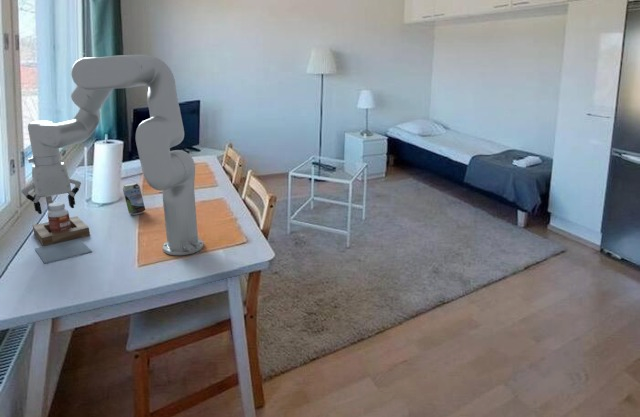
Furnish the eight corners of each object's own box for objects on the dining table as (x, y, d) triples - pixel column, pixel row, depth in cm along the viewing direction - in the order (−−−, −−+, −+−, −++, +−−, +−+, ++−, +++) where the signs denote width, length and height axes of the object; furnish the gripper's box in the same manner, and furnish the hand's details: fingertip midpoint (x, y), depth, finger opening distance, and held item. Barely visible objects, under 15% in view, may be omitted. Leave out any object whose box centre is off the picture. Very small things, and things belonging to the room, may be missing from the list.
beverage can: (139, 217, 171) (136, 186, 167) (122, 215, 173) (118, 185, 169) (149, 211, 177) (145, 182, 173) (132, 210, 178) (128, 180, 174)
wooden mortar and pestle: (90, 235, 154) (82, 191, 149) (43, 246, 145) (33, 199, 140) (74, 219, 168) (66, 178, 162) (30, 228, 159) (21, 185, 153)
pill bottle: (64, 238, 151) (58, 207, 147) (47, 237, 152) (41, 206, 148) (76, 231, 157) (70, 201, 153) (60, 230, 158) (54, 200, 154)
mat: (91, 252, 142) (91, 250, 142) (44, 264, 134) (44, 262, 134) (79, 239, 151) (79, 238, 151) (35, 249, 143) (35, 248, 143)
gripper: (18, 166, 138) (28, 218, 143) (79, 159, 149) (87, 207, 154) (13, 161, 143) (23, 212, 149) (73, 154, 154) (80, 202, 160)
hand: (56, 209), depth 151 cm, fingers open, 9 cm apart
